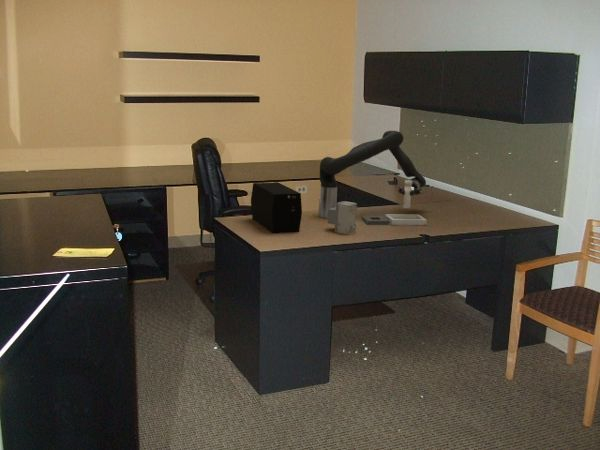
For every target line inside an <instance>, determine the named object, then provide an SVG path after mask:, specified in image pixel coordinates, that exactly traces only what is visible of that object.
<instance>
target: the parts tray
mask: <svg viewBox="0 0 600 450" xmlns="http://www.w3.org/2000/svg"><path fill="white" fill-rule="evenodd" d="M384 217H385V218H386V219H387V220H388V221H389V223H390V224H389V225H391V226H427V223H428V222H427V221H428V220H427V219H426V218H425V217H423V216H421V215H420V214H409V213H408V214H407V213H405V214H401V213H399V214H397V213H396V214H394V213H392V214H391V213H389V214H388V213H387V214H386V213H385V214H384Z"/></svg>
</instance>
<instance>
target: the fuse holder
mask: <svg viewBox="0 0 600 450" xmlns="http://www.w3.org/2000/svg"><path fill="white" fill-rule="evenodd" d="M361 221H363V222H364V223H365V224H366V225H369V226H372V225H374V226H375V225H377V226H378V225H379V226H382V225H383V226H386V225H387V226H388V225H390V224H389V221H388V220H387V219H386V218H385V216H383V215H362V216H361Z"/></svg>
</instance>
